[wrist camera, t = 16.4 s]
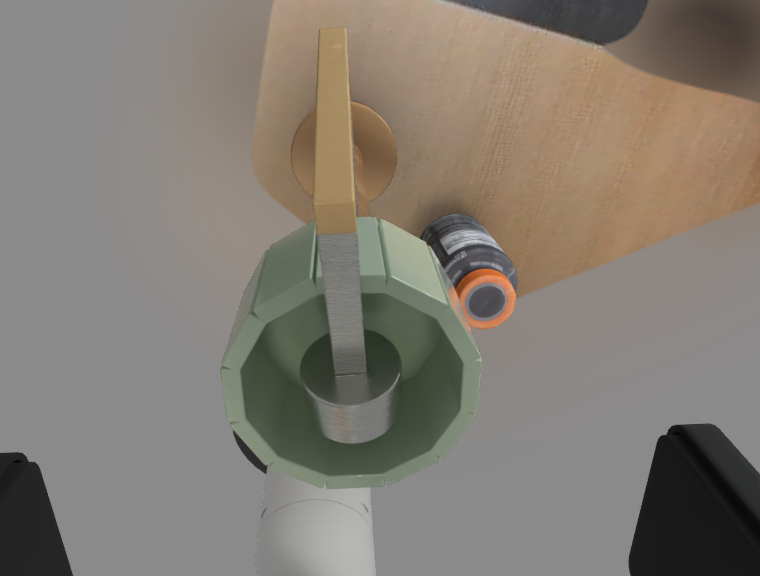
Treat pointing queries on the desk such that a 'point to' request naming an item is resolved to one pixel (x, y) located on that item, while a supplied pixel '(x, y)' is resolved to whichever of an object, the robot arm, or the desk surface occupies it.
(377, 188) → the stand
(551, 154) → the desk surface
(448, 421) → the bowl
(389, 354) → the wood-topped metal bracket
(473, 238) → the pill bottle
